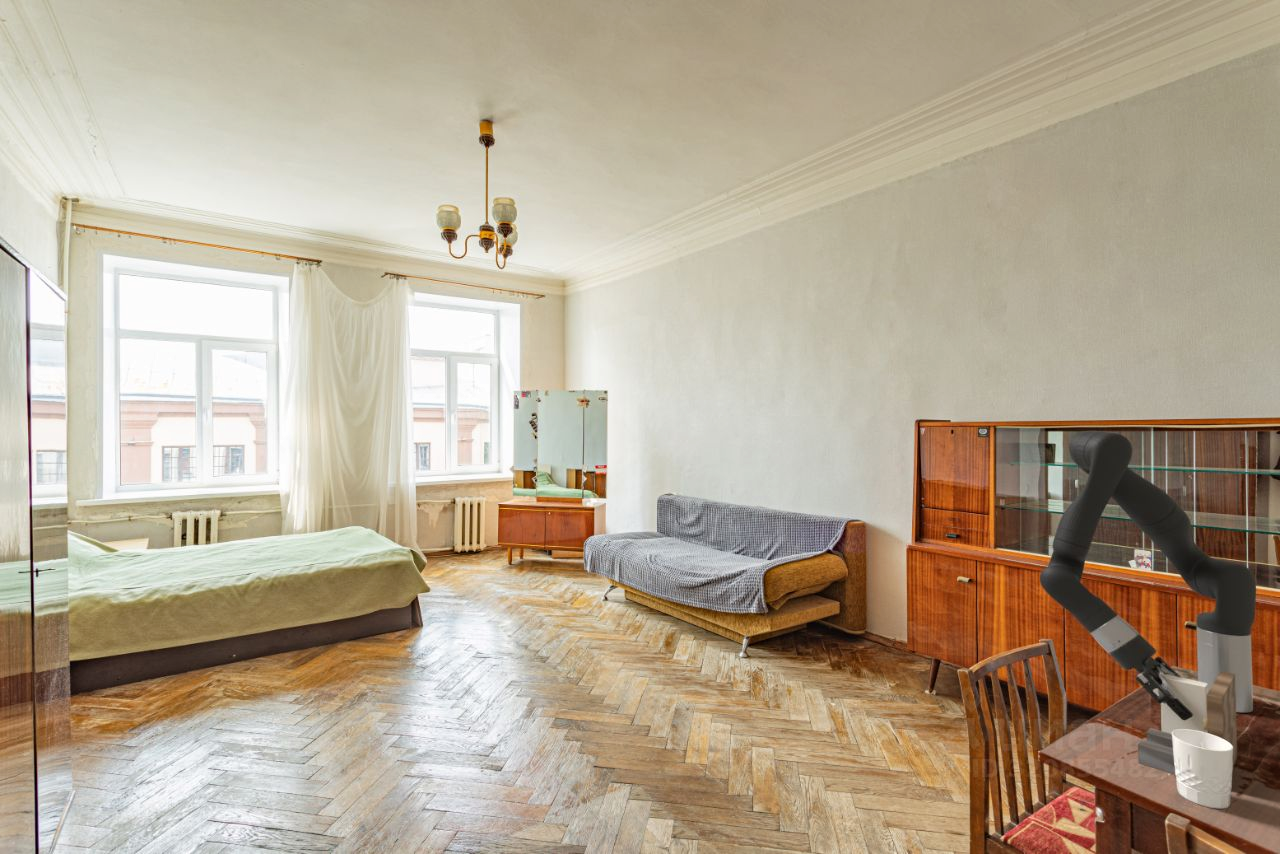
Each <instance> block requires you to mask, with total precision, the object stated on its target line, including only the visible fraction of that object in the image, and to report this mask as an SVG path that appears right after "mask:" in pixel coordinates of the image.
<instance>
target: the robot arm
mask: <svg viewBox="0 0 1280 854" xmlns="http://www.w3.org/2000/svg"><path fill="white" fill-rule="evenodd" d="M1068 452H1069V455H1070V458H1071V460H1072V461H1073V462H1074V464H1075V465H1076V466H1078V467H1079V468H1080V469H1081V470H1082V471H1083V472H1084V473H1086V474H1087V475H1088V476H1087V480H1086V482H1085V485H1084V486H1083V488H1082V490H1081V491H1080V493H1079V494H1078V495H1077V496H1076V498H1075V499H1074V500H1073V501H1072V502H1071V504H1070V505H1068V507H1067V508H1066V509H1065V510H1064V513H1062V516H1061V517H1060V519H1059V522H1058V525H1057V529H1056V531H1055V535H1054V537H1053V541H1052V553H1051V556H1050V559H1049V564H1048V565H1047V566H1046V567H1045V568H1043V569H1042V570H1041V572H1040V574H1039V583H1040V585H1041V587H1042V589H1043V590H1044V591H1045V592H1046V594H1048V595H1049V596H1050V597H1051V598H1052V599H1053V600H1054V601H1056V603H1058V604H1059V605H1060V606H1061V607H1062V608H1063V609H1065V610H1066V611H1068V612H1069V613H1070V614H1071V615H1072V616H1073V618H1075V619H1076V621H1078V622H1079V624H1081V625H1082V626H1083V628H1084V629H1086V630H1087V632H1088V633H1089V634H1091V636H1092V637H1093V638H1094V639H1095V641H1096V642H1097V643H1098V644H1099V645H1100V646H1101V647H1102V649H1104V651H1105V652H1107V654H1109V656H1110V657H1112V659H1113V660H1114V661H1116V663H1117V664H1118V665H1119V666H1120V667H1121V668H1122V669H1123V670H1124V671H1130V670H1132V669H1135V671H1136V672H1137V673H1138V674H1136V675H1134V676H1133V677H1134V679H1135V680H1136V681H1137V682H1138V683H1139V684H1140V686H1142V688H1144V689H1145V691H1146V692H1147V693H1148V694H1149V695H1151V697H1152V698H1153V699H1154V700H1155V701H1156V702H1157V703H1158V704H1161V703H1164V704H1166V703H1167V705H1168V706H1169V707H1170V708H1171V709H1172V710H1173V711H1174V712H1175V713H1176V714H1177V715H1178V716H1179V717H1180V718H1181V719H1182V720H1187V719H1189V718H1191V717H1192V716H1193V714H1192V712H1191V711H1190V710H1189V709H1188V708H1187V707H1186V706H1185V705H1184V704H1183V703H1182V702H1181V701H1180V700H1179V699H1177V698H1176V697H1175V695H1174V694H1173V692H1172V691H1171V685H1170V684H1169V682H1168V681H1167V679H1166V678H1165V676H1164V675H1165V674H1167V675H1172V676H1176V677H1181V675H1180V674H1178V673H1177V672H1176V671H1175V670H1174V668H1172V667H1171V666H1170V665H1169V664H1168V663H1167V662H1165V660H1163V658H1161V656H1159V655H1158V656H1156V657H1153V656H1154V655H1155V654H1156V653H1157V649H1155V647H1153V645H1152V644H1150V643H1149V642H1148V641H1147V640H1146V639H1145V637H1143V636H1142V635H1141V634H1140V633H1139V632H1138V631H1137V630H1136V629H1135V628H1134V627H1133V626H1132V625H1131V624H1129V622H1128V621H1126V620H1125V619H1123V618H1122V617H1121V616H1120V615H1119V614H1118V613H1117V612H1116V611H1114V610H1113V608H1112V607H1110V606H1109V605H1108V603H1106V602H1105V601H1104V600H1103V599H1101V598H1100V597H1099V596H1096V595H1095V594H1093V593H1092V592H1091V591H1090V590H1089V589H1088V588H1087V587H1086V586H1085V585H1084V584H1083V583H1082V581H1081V580H1082V577H1083V574H1084V569H1085V568H1084V567H1085V563H1086V558H1087V556H1088V553H1089V551H1090V548H1091V546H1092V542H1093V538H1094V537H1095V534H1096V529H1097V527H1098V526H1099V525H1098V524H1099V522H1100V520H1101V517H1102V515H1103V513H1104V510H1105V509H1106V507H1107V505H1108V503H1109V501H1110V500H1111V498H1112V500H1113V501H1114V502H1116V504H1117V505H1118V506H1119V507H1120V508H1121V510H1123V512H1124V513H1125V514H1126V515H1127V516H1128V517H1129V519H1130V520H1131V521H1132V522H1133V523H1134V524H1135V525H1136V526H1137V527H1138V528H1139V530H1141V532H1143V534H1144V535H1146V537H1148V538H1149V539H1150V540H1151V542H1152V543H1153V544H1154V545H1155V547H1157V549H1158V550H1159V551H1160V552H1162V554H1163V555H1164V556H1165V557H1166V558H1167V559H1168V560H1169V562H1170V563H1171V564H1172V566H1173V567H1174V569H1175V570H1176V572H1177V573H1178V574H1179V575H1180V576H1181V579H1182V580H1183V581H1184V582H1185V584H1186V585H1187V586H1188V587H1189V588H1190V590H1192V591H1194V592H1195V593H1196V594H1198V595H1200V596H1201V597H1202V596H1203V597H1205V598H1209V599H1213V600H1215V604H1214V605H1215V606H1214V610H1213V611H1211V612H1209V611H1208V612H1200V613H1198V614H1197V615H1196V645H1197V646H1196V647H1197V648H1196V649H1197V650H1196V651H1197V652H1196V653H1197V681H1199V682H1204V683H1208V692H1209V690H1210V688H1211V687H1212V685H1213V684H1214V682H1215V680H1216V679H1217V677H1218V675H1219V674H1220V672H1221V671H1223V672H1227V673H1232V674H1235V689H1236V713H1251V712H1253V711H1254V701H1253V700H1254V697H1253V695H1254V694H1253V690H1254V689H1253V664H1252V663H1253V661H1252V660H1253V659H1252V657H1253V656H1252V627H1253V624H1254V622H1255V618H1256V600H1257V583H1256V578H1255V575H1254V573H1253V571H1251V569H1249V568H1248V567H1247V566H1245V565H1243V564H1240V563H1236V562H1231V561H1225V560H1220V559H1216V558H1212V557H1211V556H1210V555H1208V554H1207V553H1206V552H1204V551H1203V550H1202V548H1200V547H1199V546H1198V544H1196V543H1195V541H1194V539H1193V538H1192V523H1191V519H1190V517H1189V515H1188V514H1187V513H1186V512H1185V511H1184V510H1183V508H1182V507H1181V506H1180V505H1179V504H1178V503H1177V501H1175V499H1174V498H1173V497H1172V496H1171V495H1170V494H1168V493H1167V492H1165V491H1164V490H1163V489H1161V488H1160V487H1158V486H1157V485H1156V484H1154V483H1152V482H1151V481H1149V480H1147V478H1144V477H1143V476H1141V475H1140V474H1138V473H1136V472H1134V470H1132V469H1131V468H1130V467H1129V464H1130V463H1131V460H1132V457H1133V446H1132V443H1131V442H1130V440H1129V439H1128V438H1127V437H1126V436H1124V435H1122V434H1120V433H1115V432H1109V431H1101V430H1085V431H1081V432H1077V433H1076V434H1074V435H1073V437H1072V438H1071V439H1070V441H1069V444H1068ZM1181 678H1183V677H1181ZM1162 693H1163V694H1162ZM1175 698H1176V699H1175Z"/></svg>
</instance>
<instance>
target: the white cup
mask: <svg viewBox="0 0 1280 854" xmlns="http://www.w3.org/2000/svg"><path fill="white" fill-rule="evenodd" d="M1172 743H1173V756H1174V765H1175V774H1174V775H1175V776H1176V777H1175V779H1176V791H1178V793H1179V795H1180V796H1182V797H1183V798H1185V799H1186V800H1187V801H1190V802H1191V803H1195V804H1197V805H1199V806H1202V807H1207V808H1211V809H1219V810H1220V809H1221V810H1222V809H1227V808H1229V807H1230V805H1231V791H1232V785H1233V783H1232V782H1233V769H1234V766H1233V746H1232V745H1231V744H1230V743H1229V742H1228V741H1226V740H1224V739H1222V738H1220V737H1218V736H1215V735H1212V734H1209V733H1205V732H1201V731H1196V730H1190V729H1177V730H1174V731H1172ZM1232 768H1233V769H1232Z"/></svg>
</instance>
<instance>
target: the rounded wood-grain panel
mask: <svg viewBox="0 0 1280 854" xmlns="http://www.w3.org/2000/svg"><path fill="white" fill-rule="evenodd" d="M1203 727H1204V730H1206V731H1208V733H1209V734H1212V735H1215V736H1218V737H1220V738H1222V739H1224V740H1226V741H1228V742H1229V743H1230V744H1231V745H1232V746H1233V768H1232V770H1233V769H1234V766H1235V764H1236V762H1237V758H1238V733H1237V728H1238V727H1237V712H1236V689H1235V674H1232V673H1227V672H1223V671H1221V672H1220V674H1219V675H1218V677H1217V679H1216V680H1215V682H1214V684H1213V685H1212V687H1211V688H1210V690H1209V692H1208V693H1207V718H1203ZM1137 754H1138V756H1137V757H1138V760H1137V761H1138V764H1140V765H1144V766H1148V767H1151V768H1154V769H1156V770H1161V771H1164V772H1167V773H1169V774H1173V775H1176V774H1175V765H1174V756H1173V743H1172V734H1170V733H1167V732H1163V731H1162V730H1160V729H1159V730H1158V729H1155V728H1152V727H1149V729H1148V730H1147V731H1146V739H1140V741H1139V742H1138V743H1137Z"/></svg>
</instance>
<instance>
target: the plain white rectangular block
mask: <svg viewBox="0 0 1280 854" xmlns="http://www.w3.org/2000/svg"><path fill="white" fill-rule="evenodd" d="M1164 676H1165V678H1166V679H1167V681H1168V682H1169V684H1170V685H1171V691H1172V692H1173V694H1174V695H1175V697H1176V698H1177V699H1179V700H1180V701H1181V702H1182V703H1183V704H1184V705H1185V706H1186V707H1187V708H1188V709H1189V710H1190V711H1191V712H1192V714H1193V716H1192V717H1191V718H1189V719H1187V720H1182V719H1181V718H1180V717H1179V716H1178V715H1177V714H1176V713H1175V712H1174V711H1173V710H1172V709H1171V708H1170V707H1169V706H1168V705H1167V703H1166V704H1164V703H1160V718H1161V721H1160V724H1161V726H1160V727H1161V731H1163V732H1167V733H1170V734H1172V731H1174V730H1177V729H1190V730H1196V731H1201V732H1205V733H1208V731H1206V730H1204V727H1203V718H1207V693H1208V683H1204V682H1199V681H1198V680H1195V679H1194V680H1193V679H1190V678H1185V677H1182V678H1181V676H1180V677H1176V676H1172V675H1167V674H1165V675H1164ZM1162 694H1163V693H1162ZM1176 698H1175V699H1176Z"/></svg>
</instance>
